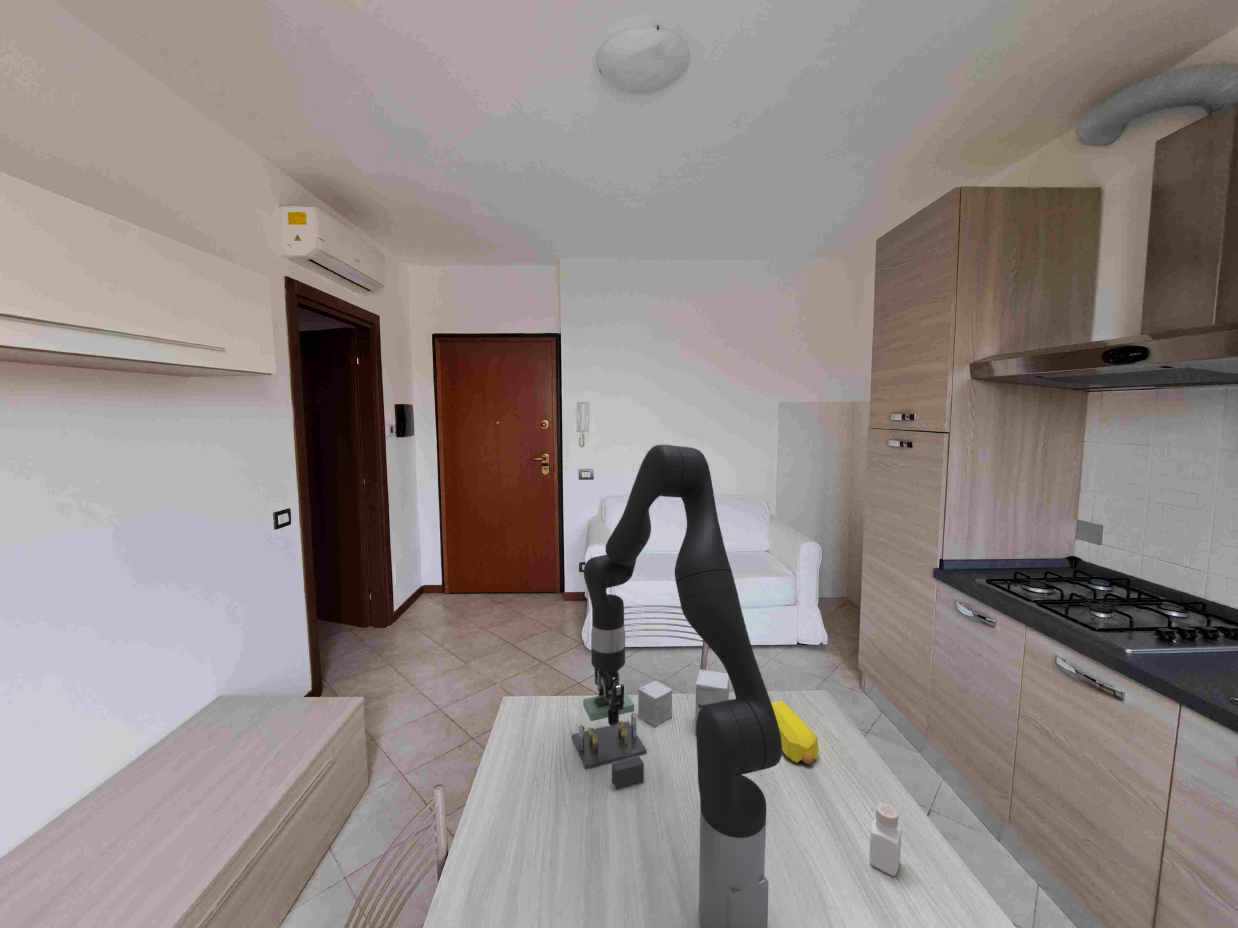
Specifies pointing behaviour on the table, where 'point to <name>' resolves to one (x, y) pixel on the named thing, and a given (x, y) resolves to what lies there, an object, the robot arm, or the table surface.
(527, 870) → the table surface
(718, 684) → the supplement box
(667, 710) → the product box
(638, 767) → the block
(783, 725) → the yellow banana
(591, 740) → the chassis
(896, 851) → the salt shaker
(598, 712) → the board
